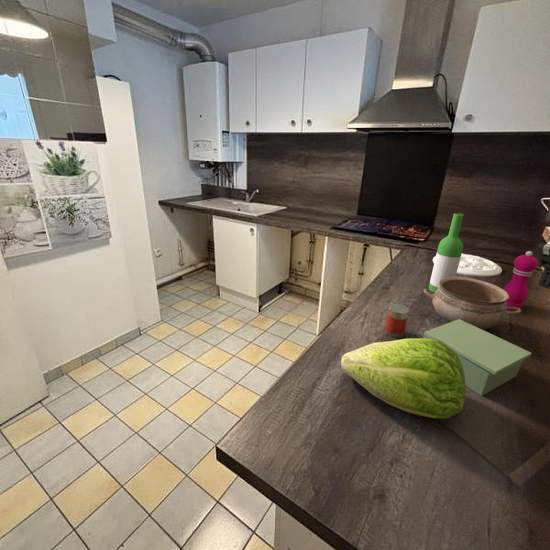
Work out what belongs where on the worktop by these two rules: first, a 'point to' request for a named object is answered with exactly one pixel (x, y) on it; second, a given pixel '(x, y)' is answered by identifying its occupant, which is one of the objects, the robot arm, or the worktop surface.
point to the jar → (396, 320)
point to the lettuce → (410, 375)
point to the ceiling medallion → (477, 266)
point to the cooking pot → (471, 302)
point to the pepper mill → (520, 280)
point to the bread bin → (485, 375)
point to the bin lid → (478, 346)
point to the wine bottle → (447, 254)
